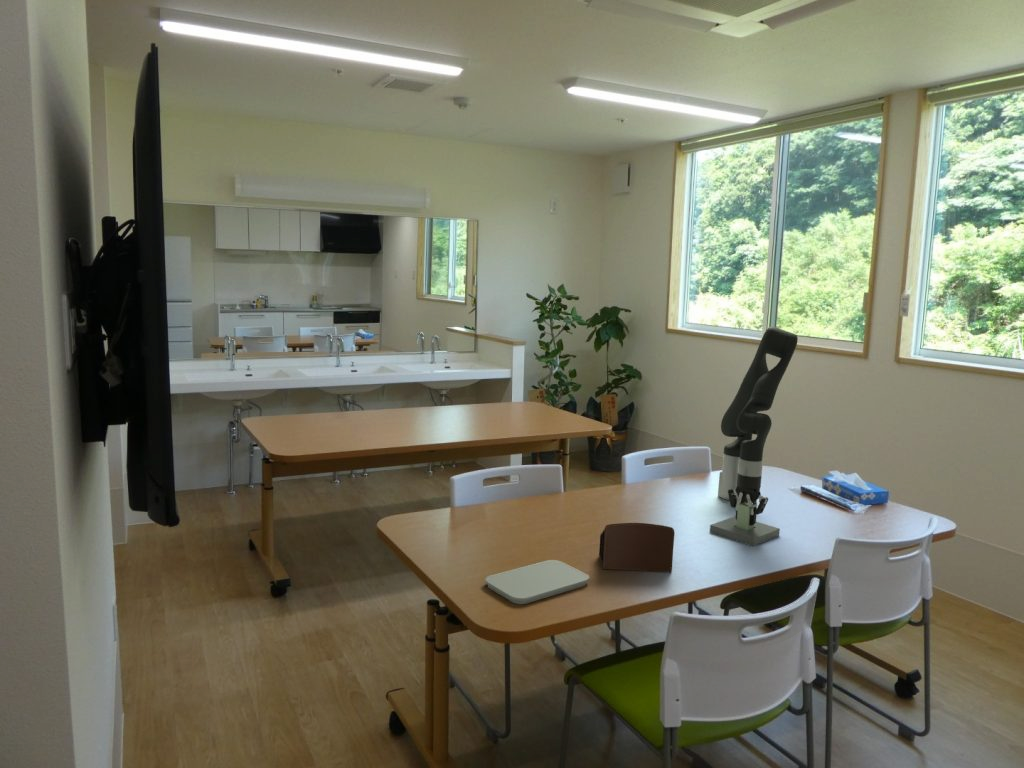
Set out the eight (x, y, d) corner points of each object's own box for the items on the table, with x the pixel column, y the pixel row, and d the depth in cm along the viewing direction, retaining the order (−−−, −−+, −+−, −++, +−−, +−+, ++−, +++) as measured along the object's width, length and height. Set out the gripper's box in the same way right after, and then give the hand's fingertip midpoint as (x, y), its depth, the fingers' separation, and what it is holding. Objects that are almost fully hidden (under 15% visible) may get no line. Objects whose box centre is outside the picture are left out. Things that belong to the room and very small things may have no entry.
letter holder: (672, 573, 211) (675, 525, 209) (602, 570, 211) (604, 522, 209) (665, 559, 221) (668, 514, 219) (598, 557, 221) (601, 511, 219)
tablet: (480, 586, 198) (480, 578, 198) (554, 565, 214) (554, 558, 214) (517, 609, 186) (518, 600, 185) (593, 585, 201) (594, 577, 201)
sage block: (735, 533, 246) (738, 504, 245) (742, 530, 249) (744, 502, 247) (746, 536, 243) (749, 507, 242) (753, 534, 246) (755, 505, 244)
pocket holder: (709, 532, 246) (710, 524, 246) (736, 522, 257) (736, 515, 257) (753, 546, 235) (754, 538, 234) (779, 535, 245) (779, 528, 245)
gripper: (775, 475, 240) (770, 526, 243) (736, 466, 251) (732, 515, 253) (763, 479, 235) (758, 531, 238) (724, 469, 246) (720, 519, 248)
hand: (745, 522), depth 245 cm, fingers closed on sage block, 4 cm apart
